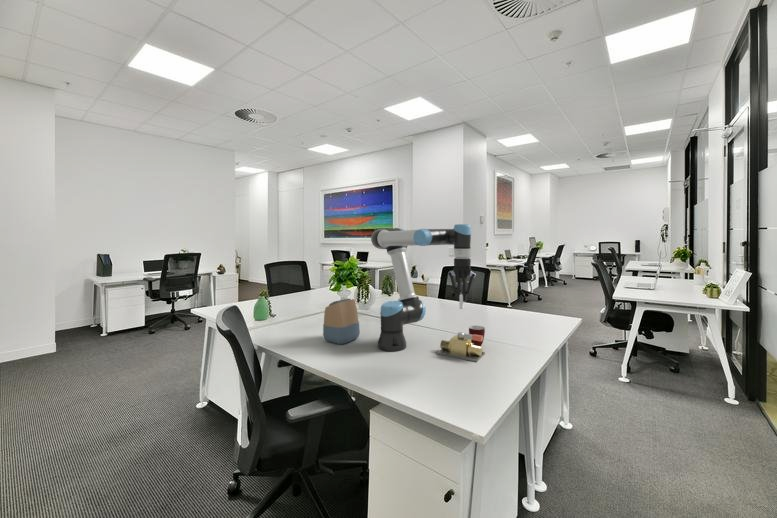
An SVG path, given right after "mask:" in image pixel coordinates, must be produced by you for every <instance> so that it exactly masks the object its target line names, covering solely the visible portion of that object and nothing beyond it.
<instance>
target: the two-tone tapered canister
mask: <svg viewBox="0 0 777 518" xmlns="http://www.w3.org/2000/svg"><path fill="white" fill-rule="evenodd" d="M322 326H323V327H322V330H323V331H322V335H323V339H324V340H325V341H327V342H329V343H332V342H333V344H336V343H337V345H345V344H347V343H350V342H352V341H355V340H357V339H358V337H360V333H361V332H360V331H361V330H360V321H359V315H358V307H357V303H356V299H355V298H352V299H351V298H343V299H340V300H336V301H332V302H330V303H329V305H327V306H326V307H325V308H324V315H323V325H322Z"/></svg>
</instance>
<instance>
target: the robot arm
mask: <svg viewBox="0 0 777 518" xmlns="http://www.w3.org/2000/svg"><path fill="white" fill-rule="evenodd" d="M471 229H472V227H471V225H470V224H467V223H466V224H465V223H464V224H463V223H462V224H460V223H459V224H454V225H453V228H420V229H409V230H408V229H407V230H406V229H403V228H398V227H395V228H391V227H389V228H382V227H381V228H378V229H375V230H374V231H373V232H372V234H371V236H370V241H371V244H372V245H373V246H374V247H375V248H377V249H379V250H386V252H387V255H389V256H390V259H391V263H392V268H393V272H394V273H393V274H394V277H395V282H396V286H397V291H398V294H399V298H398V300H392V301H386V302H384V303H382V304H381V306H380V313H379V314H380V334H379V338H378V341H377V348H378V349H379V350H381V351H385V352H399V351H403V350H405V349H407V341H406V336H405V334H404V325H410V324H414V323H418V322H420V321H422V320H423V319H424V318H425V315H426V304H425V303H424V302H423V301H422V300H421V299H420V298H419V295H418V294H416V292H415V288H414V284H413V280H412V277H411V276H412V275H411V271H410V266H409V264H408V258H407V253H406V252H407V250H408V246H419V247H427V246H448V245H449V246H451V245H453V257H454V258H453V269H452V271H450V272H448V276H449V278H450V282H451V285H452V290H453V293H454V294H457V301H458V302H459V310H464V309H465V308H466V307H465V305H466V302H467V299H468V298H467V297H468V295H469V294H471V292H472V289H473V284H474V281H475V278H476V277H477V273H475V272H473V270H472V267H471V264H472V263H471V262H472V260H471V256H472V255H471V253H472V252H471V251H472V250H471V242H472V241H471V240H472V239H471V238H472V233H471V232H472V231H471ZM469 276H470V278H469V281H468V277H469Z"/></svg>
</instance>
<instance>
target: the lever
mask: <svg viewBox="0 0 777 518" xmlns="http://www.w3.org/2000/svg"><path fill="white" fill-rule="evenodd" d="M457 335H458V339H464V338H467V339H472V340H475V341H483V342H484V340H483V336H482V335H476V334H474V335H472V334H469V333H465V332H457Z"/></svg>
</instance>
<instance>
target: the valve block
mask: <svg viewBox="0 0 777 518" xmlns="http://www.w3.org/2000/svg"><path fill="white" fill-rule="evenodd" d="M439 346H440V347H439V348H440V349H439V350H438V351H437V352H436V354H437V355H439V356H445V357H451V358H456V359H461V360H465V361H471V362H475V363H478V362H479V361H480V359H482V358H483V357H484V355H486V352H485V351H483V346H482V345H481V346H475V345H474V344H473V343H471V339H467V338H464V339H458V334H456V335H454V336H452V337H451V338H450V339H449V340H445V339H442V340H441V341H440V345H439Z"/></svg>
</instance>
